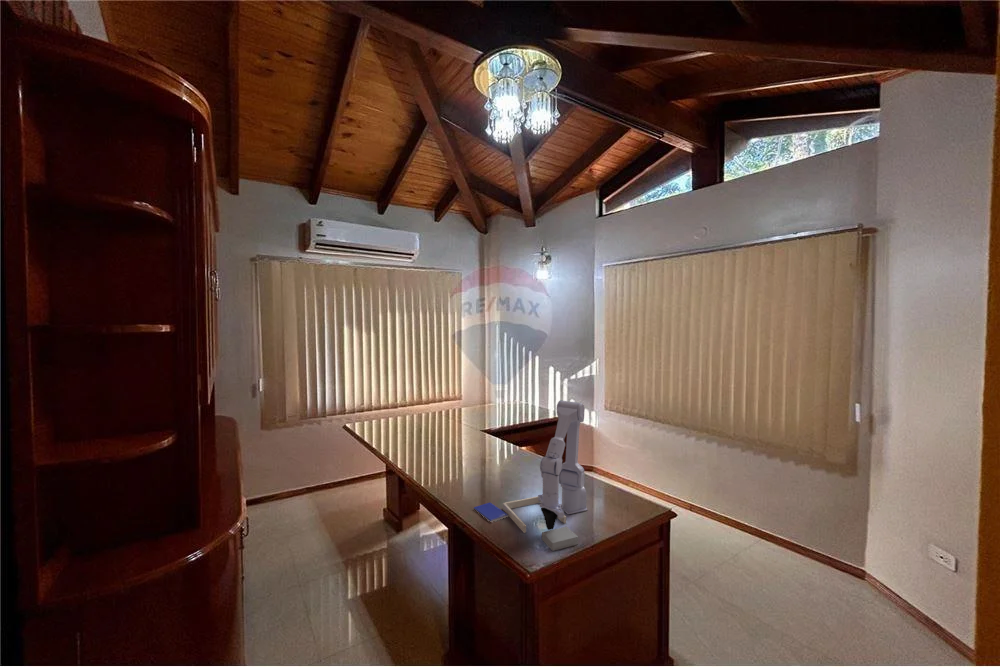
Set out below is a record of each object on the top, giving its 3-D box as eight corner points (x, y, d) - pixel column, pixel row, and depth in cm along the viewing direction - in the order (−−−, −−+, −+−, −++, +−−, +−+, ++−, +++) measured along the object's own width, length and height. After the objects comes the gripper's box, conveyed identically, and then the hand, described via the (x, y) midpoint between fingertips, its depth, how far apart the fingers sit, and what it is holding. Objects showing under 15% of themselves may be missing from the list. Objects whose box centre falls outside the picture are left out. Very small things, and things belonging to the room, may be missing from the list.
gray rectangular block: (566, 534, 134) (566, 526, 134) (577, 545, 127) (578, 536, 127) (541, 540, 130) (542, 532, 130) (552, 552, 124) (552, 542, 124)
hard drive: (508, 514, 145) (490, 502, 156) (490, 520, 141) (473, 507, 151) (508, 518, 145) (490, 505, 156) (490, 524, 141) (473, 511, 151)
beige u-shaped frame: (540, 501, 158) (540, 495, 158) (566, 523, 141) (566, 516, 141) (502, 509, 152) (502, 502, 151) (524, 532, 134) (524, 525, 134)
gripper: (531, 484, 140) (530, 521, 140) (551, 501, 126) (551, 541, 127) (547, 481, 142) (547, 517, 143) (569, 497, 129) (568, 537, 129)
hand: (550, 528), depth 135 cm, fingers closed
